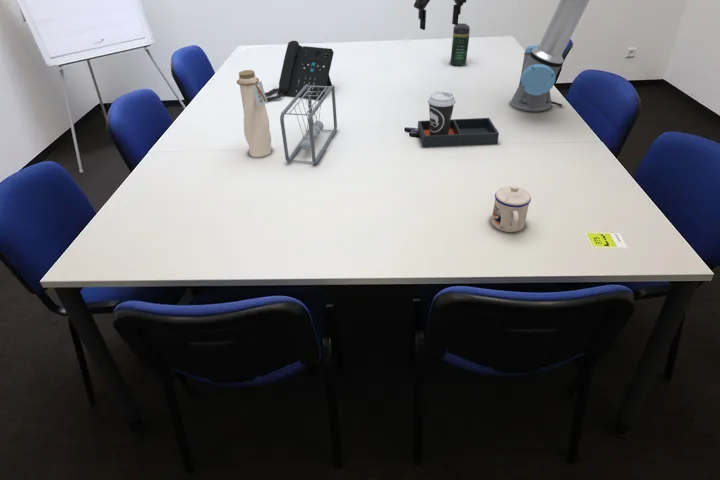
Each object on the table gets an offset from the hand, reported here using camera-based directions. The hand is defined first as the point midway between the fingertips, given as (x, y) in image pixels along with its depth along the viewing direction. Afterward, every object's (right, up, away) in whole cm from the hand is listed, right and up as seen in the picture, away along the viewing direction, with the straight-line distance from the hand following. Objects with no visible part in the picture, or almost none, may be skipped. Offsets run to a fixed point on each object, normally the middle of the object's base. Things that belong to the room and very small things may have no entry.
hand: (438, 26), depth 174 cm
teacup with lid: (+11, -75, -47) cm, 89 cm away
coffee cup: (0, -41, -3) cm, 41 cm away
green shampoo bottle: (+21, +11, +66) cm, 70 cm away
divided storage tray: (+6, -41, -2) cm, 42 cm away
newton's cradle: (-46, -45, -4) cm, 64 cm away
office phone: (-59, -14, +38) cm, 71 cm away
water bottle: (-64, -48, -7) cm, 80 cm away
